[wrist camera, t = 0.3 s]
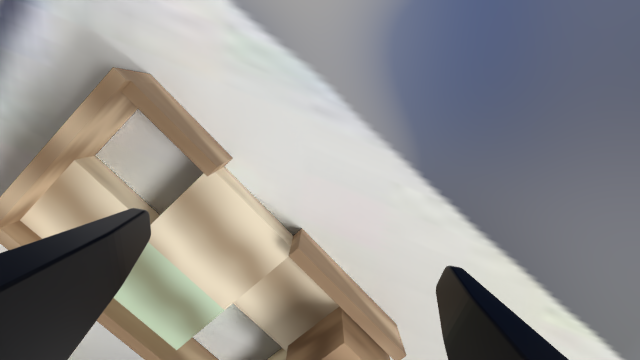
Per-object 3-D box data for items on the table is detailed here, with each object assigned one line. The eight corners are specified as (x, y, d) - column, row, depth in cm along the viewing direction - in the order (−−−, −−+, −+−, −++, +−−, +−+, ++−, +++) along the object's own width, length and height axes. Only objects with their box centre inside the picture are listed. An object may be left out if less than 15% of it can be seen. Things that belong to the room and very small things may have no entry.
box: (270, 415, 30) (262, 461, 26) (26, 210, 25) (-29, 229, 21) (396, 324, 27) (408, 360, 23) (149, 74, 22) (113, 67, 18)
